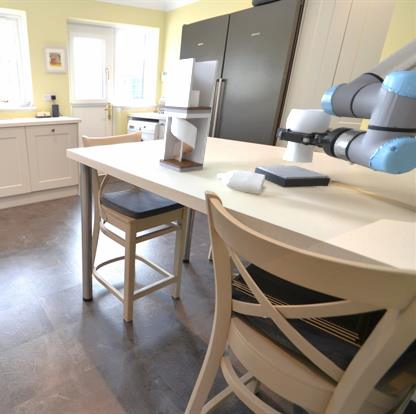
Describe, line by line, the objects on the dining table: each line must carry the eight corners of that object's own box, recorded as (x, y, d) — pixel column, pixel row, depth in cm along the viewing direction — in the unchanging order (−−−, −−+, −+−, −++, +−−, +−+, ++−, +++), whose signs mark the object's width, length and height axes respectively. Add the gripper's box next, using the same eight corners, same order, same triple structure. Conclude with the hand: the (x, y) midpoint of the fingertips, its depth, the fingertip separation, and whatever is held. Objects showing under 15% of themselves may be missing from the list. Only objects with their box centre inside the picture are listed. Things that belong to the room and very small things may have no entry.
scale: (295, 173, 99) (298, 165, 97) (330, 185, 86) (334, 176, 85) (253, 174, 96) (255, 165, 95) (283, 187, 84) (286, 177, 82)
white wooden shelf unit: (159, 164, 107) (168, 61, 94) (181, 162, 111) (193, 63, 98) (179, 172, 98) (193, 58, 84) (202, 169, 102) (218, 60, 89)
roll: (218, 183, 86) (221, 165, 84) (261, 191, 80) (266, 172, 78) (212, 188, 81) (215, 169, 79) (258, 197, 75) (263, 176, 73)
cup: (281, 162, 86) (294, 110, 80) (274, 155, 95) (286, 108, 89) (322, 165, 82) (339, 111, 77) (311, 158, 92) (326, 109, 86)
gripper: (295, 158, 71) (256, 143, 91) (391, 161, 70) (330, 145, 90) (304, 127, 68) (262, 119, 89) (404, 130, 67) (338, 121, 88)
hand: (296, 132), depth 90 cm, fingers closed on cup, 11 cm apart
